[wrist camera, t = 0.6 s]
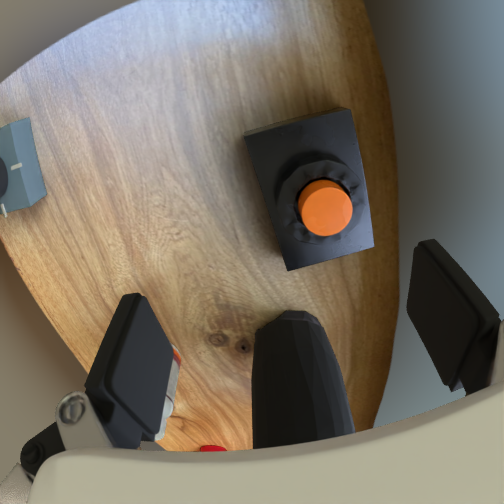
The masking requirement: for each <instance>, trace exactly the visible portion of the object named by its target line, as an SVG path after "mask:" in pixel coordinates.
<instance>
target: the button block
mask: <svg viewBox="0 0 504 504" xmlns="http://www.w3.org/2000/svg"><path fill="white" fill-rule="evenodd" d="M244 139H245V142H246V145H247V148H248V151H249V154H250V157H251V160H252V163H253V166H254V169H255V172H256V175H257V178H258V181H259V184H260V187H261V190H262V193H263V196H264V199H265V202H266V205H267V208H268V212H269V215H270V218H271V221H272V224H273V227H274V230H275V233H276V237H277V240H278V243H279V246H280V249H281V253H282V256H283V259H284V262H285V265H286V269H287V271H291V270H295V269H299V268H302V267H306V266H309V265H313V264H316V263H320V262H324V261H327V260H331V259H334V258H338V257H341V256H344V255H348V254H351V253H355V252H358V251H362V250H365V249H368V248H372V247H374V240H373V232H372V224H371V216H370V209H369V202H368V195H367V189H366V183H365V177H364V171H363V166H362V161H361V155H360V150H359V146H358V141H357V136H356V132H355V127H354V123H353V118H352V114H351V110H350V109H347V108H344V107H338V108H334V109H329V110H325V111H321V112H316V113H312V114H308V115H304V116H300V117H296V118H292V119H289V120H285V121H281V122H278V123H274V124H270V125H267V126H264V127H260V128H257V129H254V130H250V131H247V132H244ZM317 180H330V181H333V182H335V183H336V184H338V185H339V186H340V187H341V188H342V190H343V191H344V192H345V193H346V194H347V196H348V197H349V198H350V200H351V203H352V216H351V219H350V221H349V223H348V224H347V226H346V227H345V228H344V229H343V230H341V231H340V232H338V233H336V234H333V235H330V236H320V235H317V234H314V233H312V232H311V231H309V230H308V229H307V228H306V226H305V225H304V223H303V221H302V218H301V215H300V213H299V210H298V199H299V196H300V194H301V192H302V191H303V189H304V188H305V187H306V186H307V185H309V184H310V183H312V182H314V181H317Z"/></svg>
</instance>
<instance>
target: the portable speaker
mask: <svg viewBox="0 0 504 504" xmlns="http://www.w3.org/2000/svg"><path fill="white" fill-rule="evenodd" d="M251 383H252V429H253V449H262V448H271V447H280V446H288V445H295V444H301V443H308V442H313V441H319V440H324V439H330V438H335V437H339V436H344V435H348V434H353V433H356V432H355V428H354V423H353V419H352V414H351V410H350V406H349V402H348V398H347V393H346V389H345V385H344V381H343V377H342V373H341V370H340V366H339V364H338V361H337V359H336V356H335V354H334V352H333V349H332V347H331V345H330V342H329V340H328V337H327V335H326V333H325V330H324V328H323V327H322V326H321V324H320V323H319V321H318V319H317V318H316V317H314V316H312V315H311V314H309V313H307V312H306V311H285V312H284V313H283V314H282V315H281V316H280V317H279V318H277V319H276V320H274V321H273V322H271V323H269V324H268V325H266V326H264V327H263V328H262V329H261V330H260V329H258V330H257V331H256V333H255V343H254V355H253V367H252V379H251Z"/></svg>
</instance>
